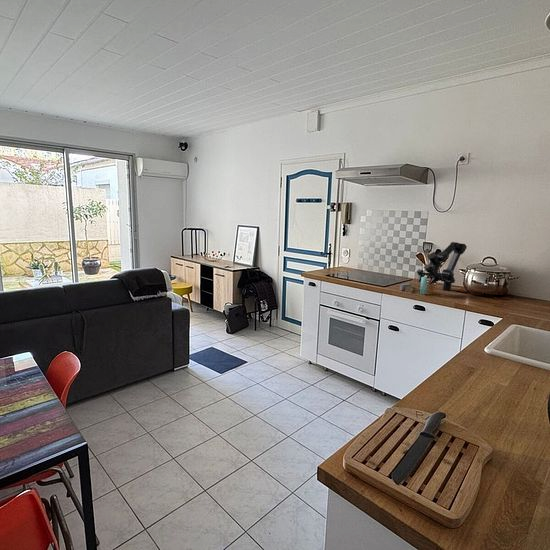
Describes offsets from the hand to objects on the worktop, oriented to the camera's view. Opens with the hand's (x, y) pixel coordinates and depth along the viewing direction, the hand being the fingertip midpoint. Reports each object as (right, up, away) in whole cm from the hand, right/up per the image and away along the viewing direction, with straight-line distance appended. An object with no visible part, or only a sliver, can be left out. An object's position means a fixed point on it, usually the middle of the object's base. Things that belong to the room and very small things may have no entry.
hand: (423, 283), depth 258 cm
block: (-5, -7, +9) cm, 12 cm away
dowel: (0, -8, +1) cm, 8 cm away
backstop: (-8, -5, +15) cm, 18 cm away
